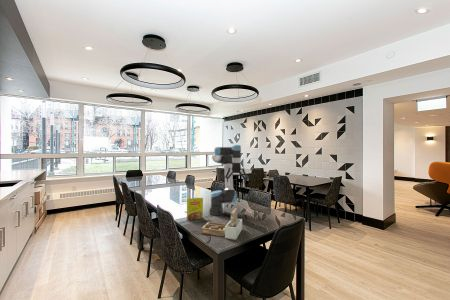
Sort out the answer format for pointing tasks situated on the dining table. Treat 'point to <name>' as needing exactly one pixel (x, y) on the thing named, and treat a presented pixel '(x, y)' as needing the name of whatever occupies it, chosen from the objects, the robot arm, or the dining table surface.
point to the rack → (208, 225)
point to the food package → (194, 208)
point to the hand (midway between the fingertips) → (236, 186)
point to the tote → (233, 230)
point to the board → (234, 218)
